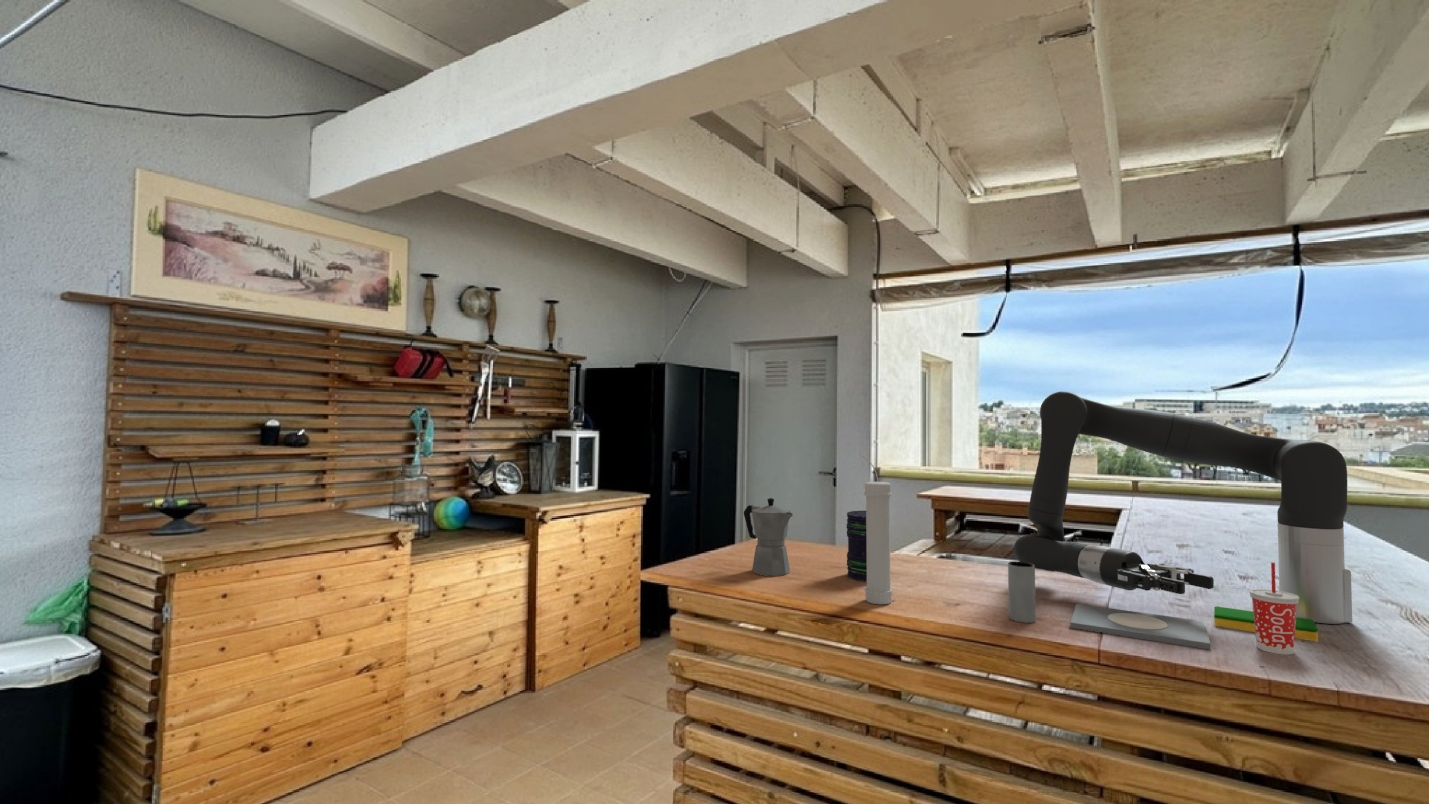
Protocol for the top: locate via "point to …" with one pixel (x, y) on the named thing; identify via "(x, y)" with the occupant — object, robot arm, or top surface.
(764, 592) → the top surface
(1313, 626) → the dish sponge
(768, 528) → the coffeepot
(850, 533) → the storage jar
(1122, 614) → the slate board
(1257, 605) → the beverage cup
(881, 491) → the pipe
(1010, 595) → the gray cylinder
